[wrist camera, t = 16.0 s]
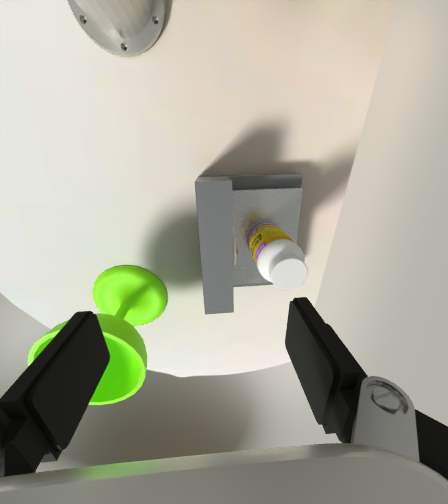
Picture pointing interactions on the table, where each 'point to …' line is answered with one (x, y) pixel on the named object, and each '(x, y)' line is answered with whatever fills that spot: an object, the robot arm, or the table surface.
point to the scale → (225, 232)
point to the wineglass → (120, 328)
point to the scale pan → (258, 212)
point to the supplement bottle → (277, 256)
